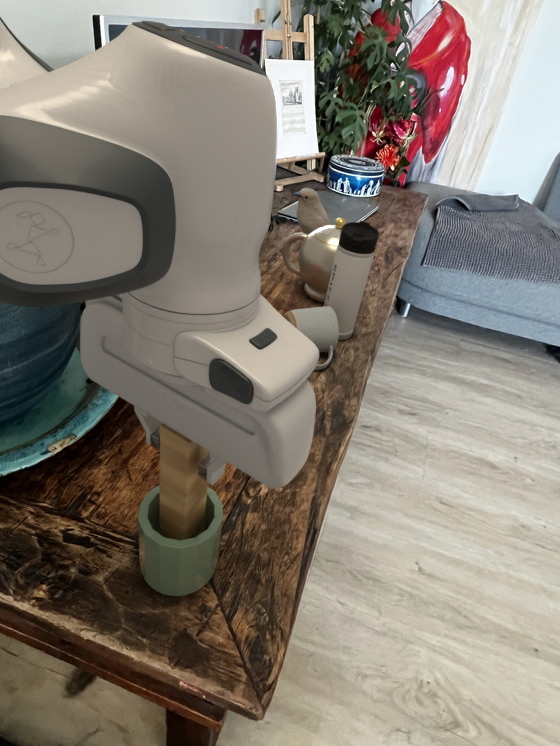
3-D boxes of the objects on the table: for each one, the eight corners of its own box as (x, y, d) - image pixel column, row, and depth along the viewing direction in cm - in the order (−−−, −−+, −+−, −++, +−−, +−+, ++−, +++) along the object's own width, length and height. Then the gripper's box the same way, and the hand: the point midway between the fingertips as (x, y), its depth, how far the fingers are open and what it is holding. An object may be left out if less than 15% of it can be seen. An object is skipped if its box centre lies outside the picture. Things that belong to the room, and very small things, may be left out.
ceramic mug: (276, 337, 87) (283, 299, 82) (318, 335, 90) (327, 298, 85) (295, 374, 79) (304, 334, 75) (341, 371, 82) (352, 332, 77)
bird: (281, 245, 121) (291, 183, 112) (333, 249, 124) (346, 189, 116) (285, 254, 117) (295, 190, 109) (338, 257, 121) (353, 195, 112)
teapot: (364, 291, 107) (384, 217, 98) (352, 319, 97) (374, 239, 87) (286, 269, 110) (298, 196, 101) (266, 294, 100) (278, 214, 90)
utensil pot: (183, 612, 46) (186, 564, 41) (123, 566, 49) (119, 515, 44) (232, 555, 52) (239, 506, 47) (175, 516, 54) (177, 466, 50)
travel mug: (355, 327, 94) (383, 226, 82) (347, 344, 89) (377, 238, 77) (323, 318, 95) (347, 216, 83) (314, 334, 90) (338, 227, 78)
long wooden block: (181, 574, 48) (189, 443, 38) (158, 557, 49) (159, 425, 39) (201, 552, 50) (213, 423, 40) (179, 537, 52) (185, 406, 41)
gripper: (48, 279, 35) (69, 423, 43) (292, 407, 28) (261, 551, 36) (117, 255, 40) (124, 389, 48) (342, 359, 32) (304, 497, 40)
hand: (184, 460), depth 42 cm, fingers open, 4 cm apart
